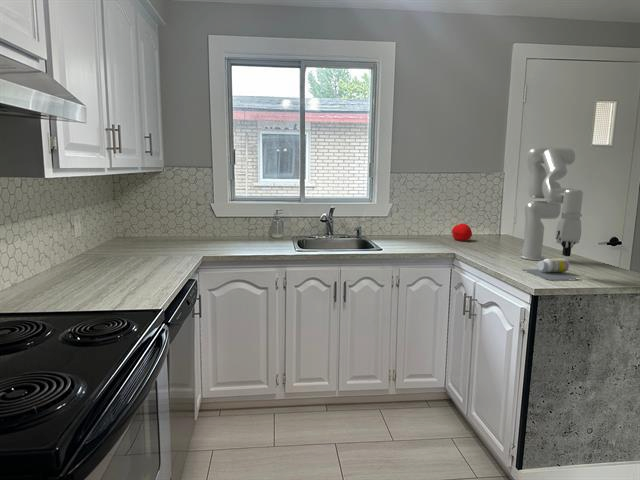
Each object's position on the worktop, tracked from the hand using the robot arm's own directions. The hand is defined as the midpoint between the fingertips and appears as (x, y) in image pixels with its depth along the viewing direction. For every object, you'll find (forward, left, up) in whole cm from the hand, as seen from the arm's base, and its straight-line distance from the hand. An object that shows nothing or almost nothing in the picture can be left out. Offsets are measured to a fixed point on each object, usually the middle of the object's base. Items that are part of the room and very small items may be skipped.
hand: (566, 255), depth 204 cm
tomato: (-97, -4, -9) cm, 98 cm away
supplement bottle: (-4, +3, -5) cm, 7 cm away
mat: (0, -7, -9) cm, 11 cm away
